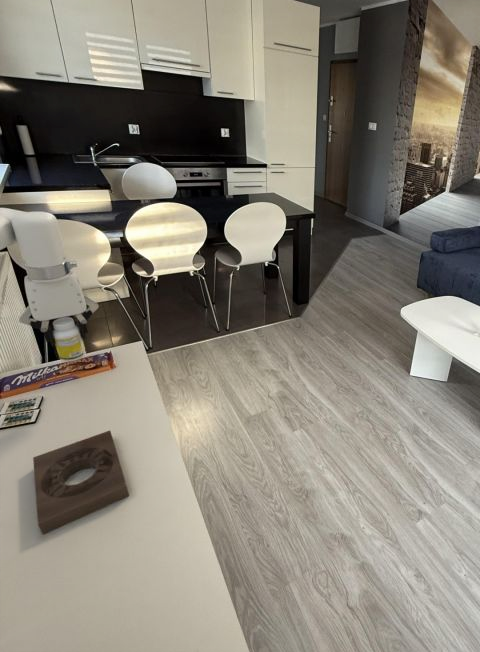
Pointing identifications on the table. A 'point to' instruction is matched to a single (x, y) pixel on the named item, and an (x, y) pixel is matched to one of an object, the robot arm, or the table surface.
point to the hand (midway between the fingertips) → (68, 339)
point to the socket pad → (83, 498)
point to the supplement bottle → (68, 339)
